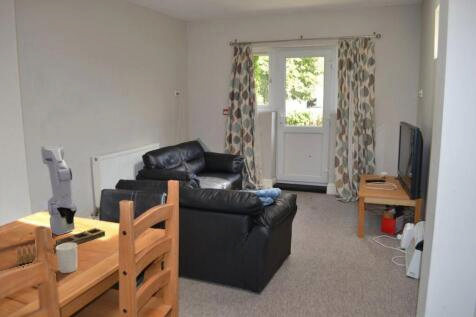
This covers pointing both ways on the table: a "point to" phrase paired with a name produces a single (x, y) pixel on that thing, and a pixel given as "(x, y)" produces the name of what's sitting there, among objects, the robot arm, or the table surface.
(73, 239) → the beige slotted frame
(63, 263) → the white cup
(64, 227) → the metal peg
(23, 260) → the ammunition clip
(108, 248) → the table surface
